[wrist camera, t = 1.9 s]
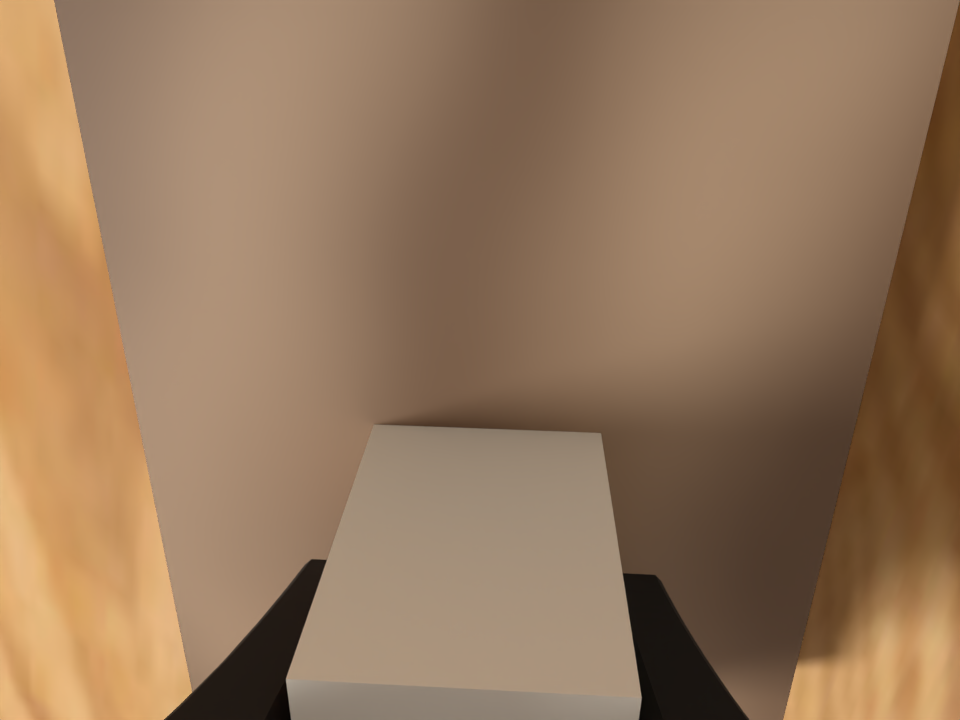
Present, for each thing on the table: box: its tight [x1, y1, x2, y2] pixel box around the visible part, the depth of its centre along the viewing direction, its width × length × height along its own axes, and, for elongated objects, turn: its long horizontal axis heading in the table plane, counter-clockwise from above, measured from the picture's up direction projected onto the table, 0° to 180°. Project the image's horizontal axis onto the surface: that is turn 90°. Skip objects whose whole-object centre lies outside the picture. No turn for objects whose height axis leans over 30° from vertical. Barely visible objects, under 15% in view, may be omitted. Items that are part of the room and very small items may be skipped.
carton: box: [286, 424, 642, 720], centre depth 11 cm, size 6×4×5 cm, turn 179°
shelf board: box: [54, 0, 960, 720], centre depth 13 cm, size 11×14×2 cm
